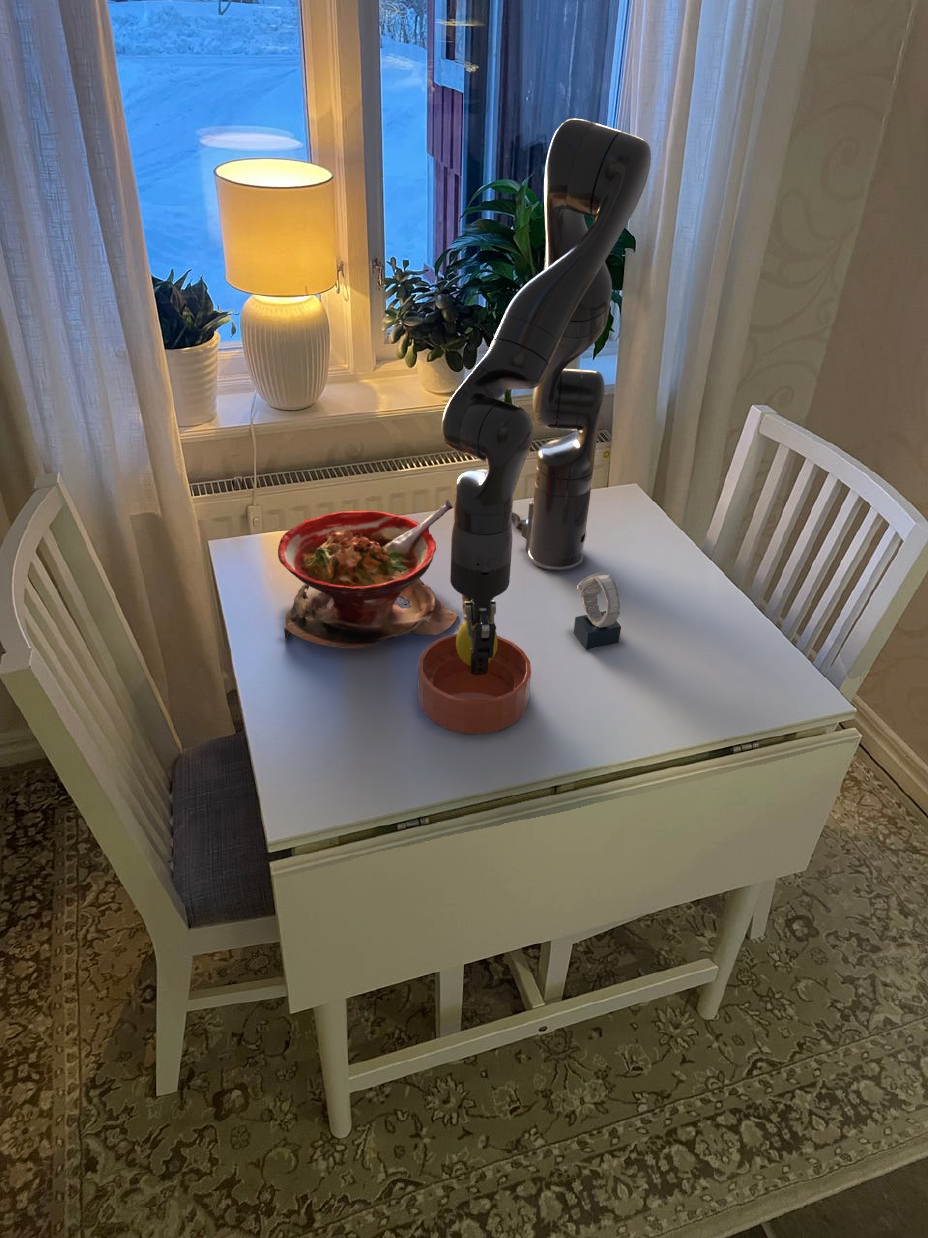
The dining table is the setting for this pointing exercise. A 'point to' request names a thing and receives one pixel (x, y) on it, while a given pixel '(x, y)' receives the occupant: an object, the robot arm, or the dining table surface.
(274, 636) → the dining table surface
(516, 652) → the bowl
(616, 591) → the watch
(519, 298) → the robot arm
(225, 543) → the dining table surface
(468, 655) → the lemon
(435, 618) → the stew
